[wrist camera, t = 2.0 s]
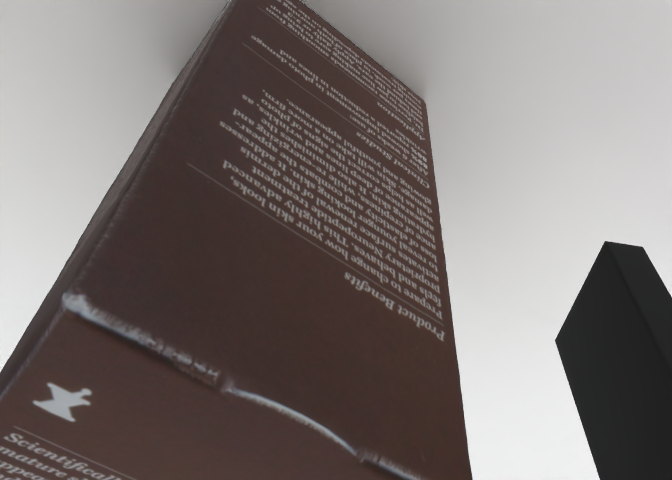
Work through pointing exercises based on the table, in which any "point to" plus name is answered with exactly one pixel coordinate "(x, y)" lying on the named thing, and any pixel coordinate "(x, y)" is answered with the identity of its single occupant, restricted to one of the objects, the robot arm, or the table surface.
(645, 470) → the robot arm
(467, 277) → the table surface
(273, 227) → the box
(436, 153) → the table surface
